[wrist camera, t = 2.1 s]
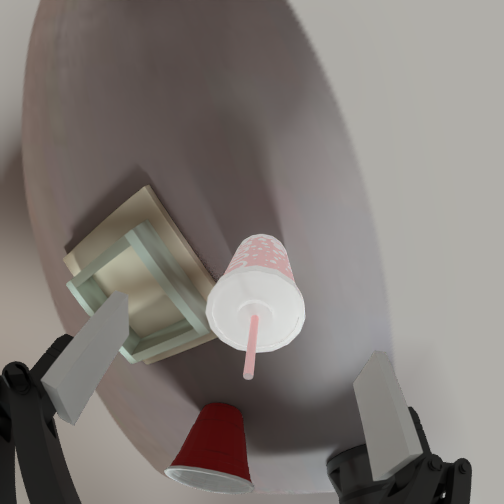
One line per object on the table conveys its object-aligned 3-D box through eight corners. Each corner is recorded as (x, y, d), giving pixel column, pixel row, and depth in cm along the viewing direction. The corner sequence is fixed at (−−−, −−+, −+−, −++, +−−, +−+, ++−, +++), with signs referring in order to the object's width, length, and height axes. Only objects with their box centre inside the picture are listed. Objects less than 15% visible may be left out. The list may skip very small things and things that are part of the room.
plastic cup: (180, 420, 36) (161, 484, 25) (190, 382, 32) (165, 460, 21) (247, 438, 36) (240, 502, 25) (271, 403, 32) (267, 482, 21)
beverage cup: (282, 215, 23) (292, 306, 10) (304, 276, 25) (327, 398, 12) (216, 239, 25) (159, 342, 12) (242, 296, 26) (218, 418, 13)
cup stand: (243, 320, 28) (239, 346, 24) (149, 359, 31) (138, 381, 27) (149, 184, 23) (128, 192, 19) (67, 256, 27) (46, 270, 23)
